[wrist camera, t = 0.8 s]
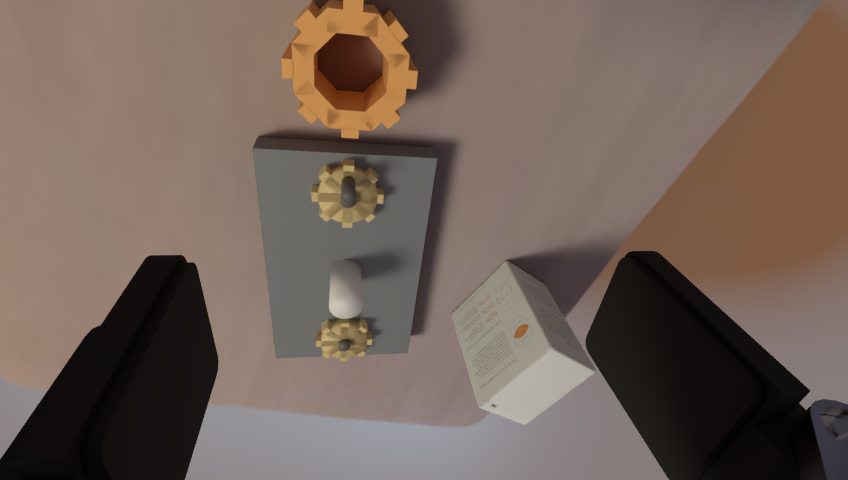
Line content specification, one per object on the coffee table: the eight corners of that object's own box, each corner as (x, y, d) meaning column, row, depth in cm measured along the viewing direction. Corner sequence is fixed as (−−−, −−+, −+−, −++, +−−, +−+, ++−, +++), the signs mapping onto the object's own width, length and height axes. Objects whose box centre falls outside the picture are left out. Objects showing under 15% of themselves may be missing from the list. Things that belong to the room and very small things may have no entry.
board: (257, 136, 28) (239, 176, 23) (432, 147, 30) (449, 185, 26) (278, 341, 39) (269, 396, 34) (405, 337, 42) (413, 388, 37)
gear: (286, -18, 23) (276, -12, 20) (414, -1, 25) (425, 7, 22) (293, 111, 27) (285, 134, 24) (403, 119, 29) (410, 142, 26)
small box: (489, 332, 43) (524, 428, 35) (449, 313, 41) (476, 410, 32) (545, 282, 40) (599, 372, 32) (506, 257, 38) (553, 348, 29)
